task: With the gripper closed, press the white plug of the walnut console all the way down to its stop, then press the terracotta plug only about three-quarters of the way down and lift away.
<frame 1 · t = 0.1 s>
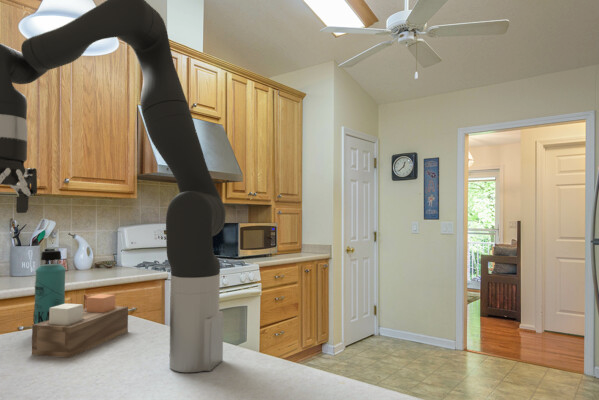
hand: (4, 212, 88), 29 cm above the countertop, tool pointing down, fingers open, 8 cm apart
walnut console: (84, 341, 92), on the countertop
beverage bottle: (48, 334, 98), on the countertop
terracotta plug: (101, 306, 98), point 7 cm above the countertop, slide at 0.0 cm
white plug: (66, 317, 87), point 7 cm above the countertop, slide at 0.0 cm
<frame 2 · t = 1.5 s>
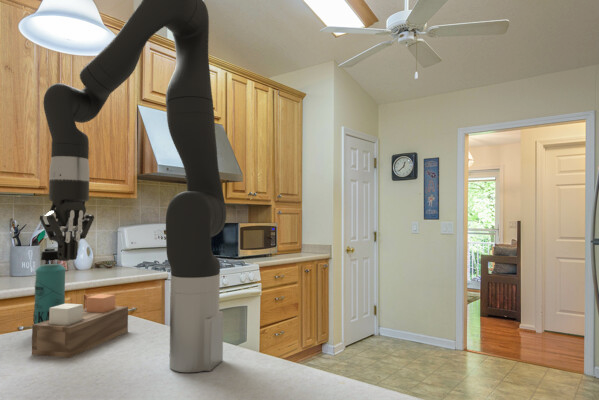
hand: (67, 259, 87), 19 cm above the countertop, tool pointing down, fingers closed
nothing on the countertop moved.
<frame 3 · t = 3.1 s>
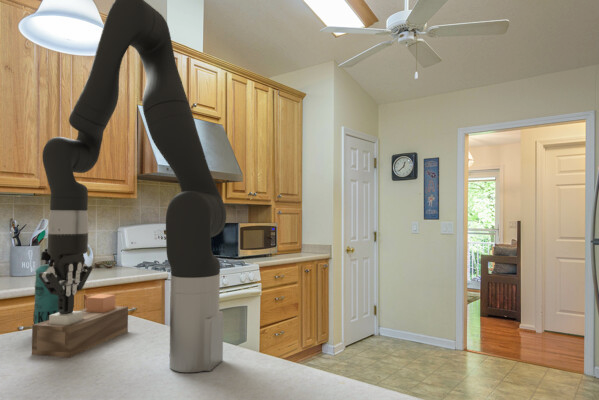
hand: (66, 313, 87), 8 cm above the countertop, tool pointing down, fingers closed
white plug: (66, 325, 87), point 5 cm above the countertop, slide at 1.5 cm, touching gripper
everything else where it was.
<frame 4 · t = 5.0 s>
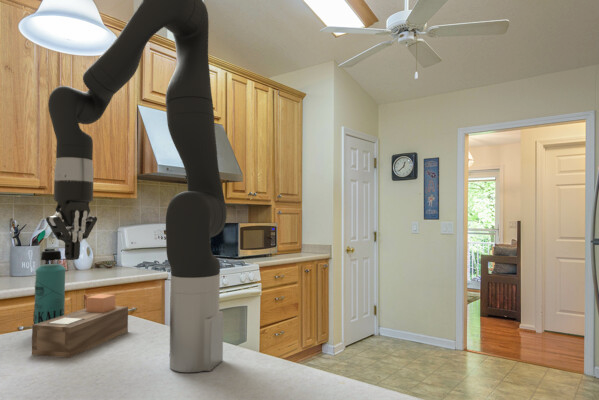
hand: (72, 259, 89), 19 cm above the countertop, tool pointing down, fingers closed
white plug: (65, 332, 87), point 4 cm above the countertop, slide at 3.1 cm
everything else where it was.
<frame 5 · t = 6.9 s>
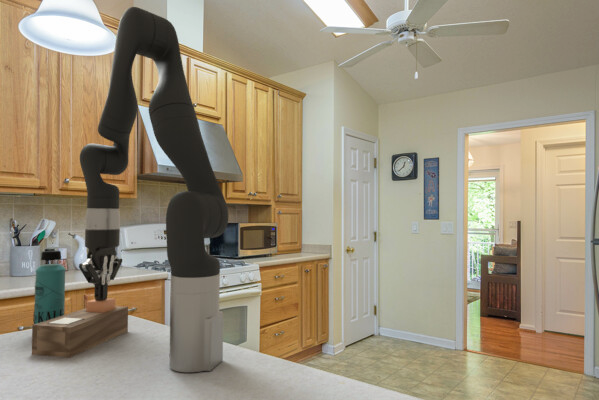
hand: (101, 299, 98), 8 cm above the countertop, tool pointing down, fingers closed
terracotta plug: (101, 310, 98), point 6 cm above the countertop, slide at 0.9 cm, touching gripper
everything else where it was.
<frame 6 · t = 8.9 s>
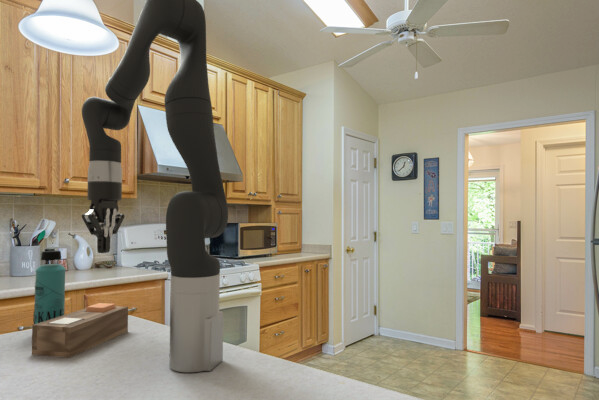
hand: (103, 252, 98), 20 cm above the countertop, tool pointing down, fingers closed
terracotta plug: (100, 315, 98), point 5 cm above the countertop, slide at 2.2 cm
everything else where it was.
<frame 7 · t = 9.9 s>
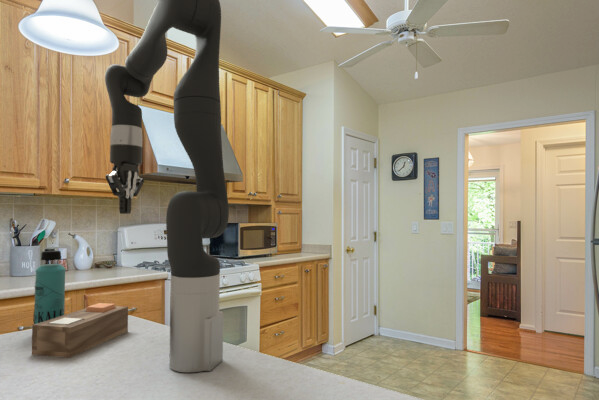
hand: (125, 213, 103), 29 cm above the countertop, tool pointing down, fingers closed
nothing on the countertop moved.
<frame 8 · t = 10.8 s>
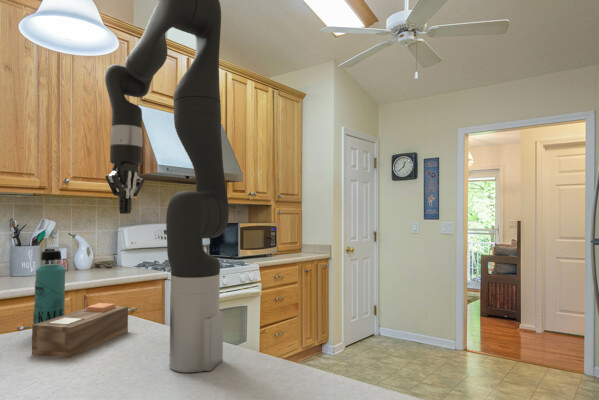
hand: (125, 213, 103), 29 cm above the countertop, tool pointing down, fingers closed
nothing on the countertop moved.
at the end: white plug slide at 3.1 cm; terracotta plug slide at 2.2 cm; beverage bottle moved 0.2 cm from its start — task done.
